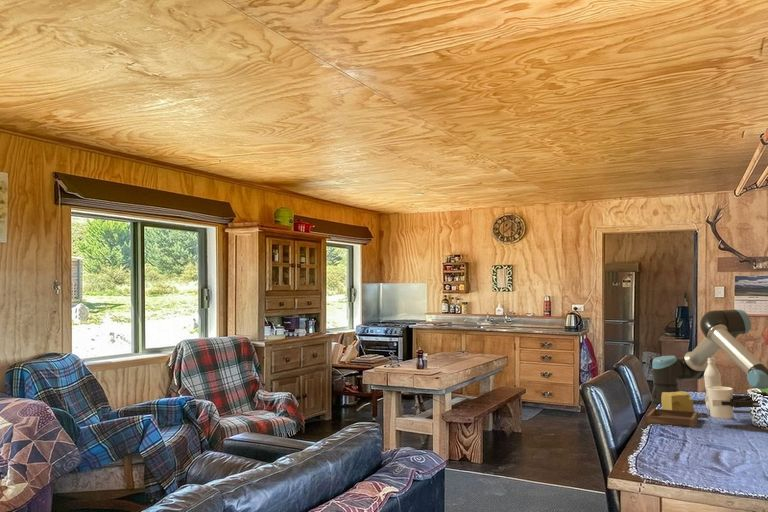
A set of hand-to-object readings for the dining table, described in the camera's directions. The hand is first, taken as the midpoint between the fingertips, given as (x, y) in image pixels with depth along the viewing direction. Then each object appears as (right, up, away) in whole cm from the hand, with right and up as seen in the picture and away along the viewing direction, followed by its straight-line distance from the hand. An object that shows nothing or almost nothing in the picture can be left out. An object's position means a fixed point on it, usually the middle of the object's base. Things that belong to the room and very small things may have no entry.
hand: (708, 400), depth 251 cm
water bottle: (+19, -12, +29) cm, 37 cm away
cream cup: (+5, -7, -1) cm, 8 cm away
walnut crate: (-11, -12, +9) cm, 18 cm away
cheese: (-1, -13, +24) cm, 27 cm away
